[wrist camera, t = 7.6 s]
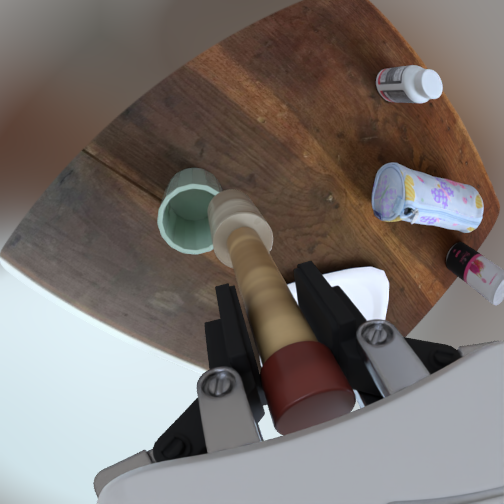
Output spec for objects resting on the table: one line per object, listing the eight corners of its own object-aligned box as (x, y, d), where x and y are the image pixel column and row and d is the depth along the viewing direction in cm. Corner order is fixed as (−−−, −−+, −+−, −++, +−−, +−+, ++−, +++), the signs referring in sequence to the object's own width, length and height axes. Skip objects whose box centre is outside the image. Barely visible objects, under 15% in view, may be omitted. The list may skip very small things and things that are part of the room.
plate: (248, 284, 46) (250, 290, 44) (390, 254, 49) (395, 258, 48) (262, 386, 57) (264, 393, 56) (373, 355, 60) (376, 360, 59)
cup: (159, 176, 37) (148, 195, 28) (214, 161, 37) (222, 176, 28) (174, 228, 40) (170, 261, 31) (227, 214, 41) (237, 244, 32)
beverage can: (444, 249, 52) (495, 285, 38) (464, 236, 52) (514, 268, 38) (444, 274, 55) (490, 311, 41) (464, 260, 55) (509, 294, 41)
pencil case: (360, 210, 44) (395, 233, 36) (372, 155, 41) (411, 168, 32) (445, 222, 49) (479, 242, 41) (456, 179, 45) (493, 194, 37)
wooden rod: (202, 195, 22) (239, 401, 6) (248, 184, 23) (382, 352, 7) (213, 238, 24) (264, 457, 8) (257, 227, 24) (369, 422, 8)
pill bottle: (406, 97, 37) (450, 99, 29) (382, 106, 38) (425, 109, 29) (395, 65, 35) (438, 61, 26) (369, 72, 35) (412, 67, 26)
